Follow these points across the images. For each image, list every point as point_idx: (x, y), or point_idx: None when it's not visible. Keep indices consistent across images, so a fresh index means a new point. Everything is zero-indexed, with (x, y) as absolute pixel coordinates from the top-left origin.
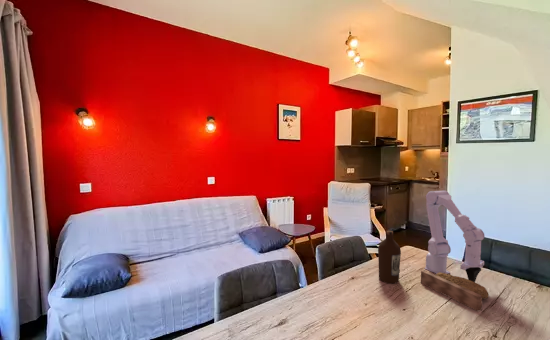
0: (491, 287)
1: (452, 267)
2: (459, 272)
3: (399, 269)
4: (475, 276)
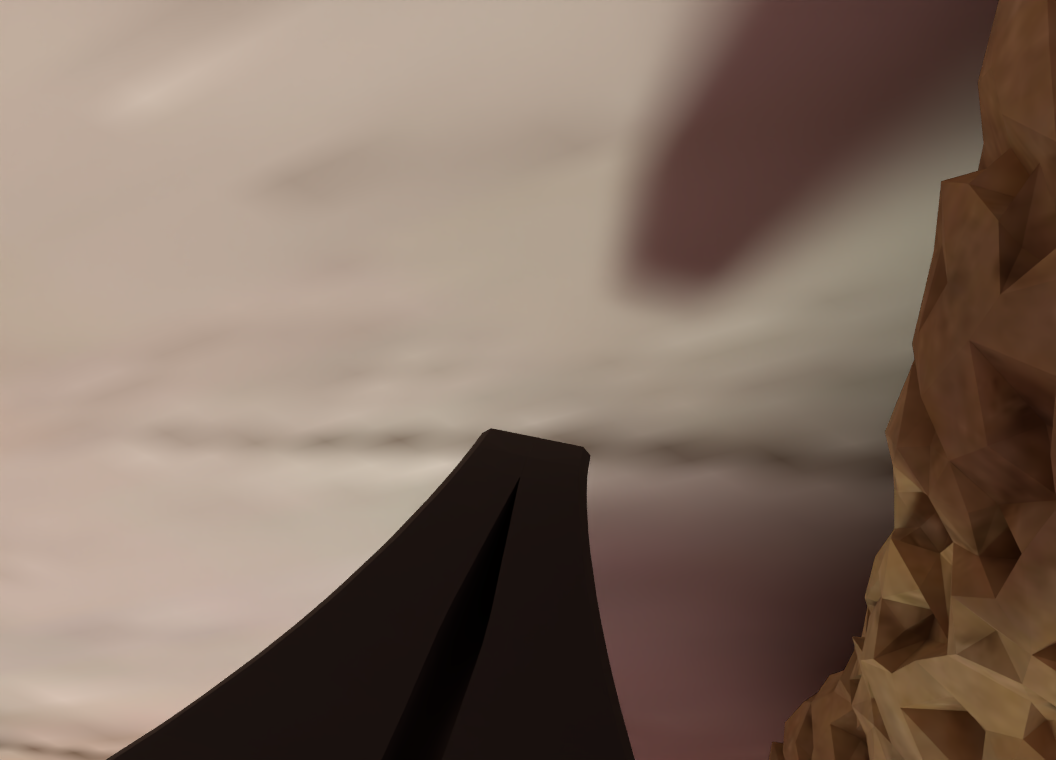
0: (9, 60)
1: (100, 729)
2: (135, 652)
3: None
4: (445, 620)
